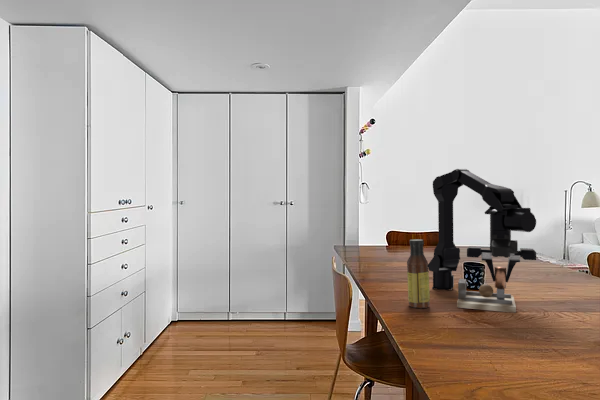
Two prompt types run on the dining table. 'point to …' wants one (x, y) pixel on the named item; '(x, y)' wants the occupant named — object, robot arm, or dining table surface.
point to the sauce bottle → (418, 276)
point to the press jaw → (500, 281)
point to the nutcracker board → (483, 300)
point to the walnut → (486, 290)
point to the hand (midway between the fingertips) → (500, 281)
